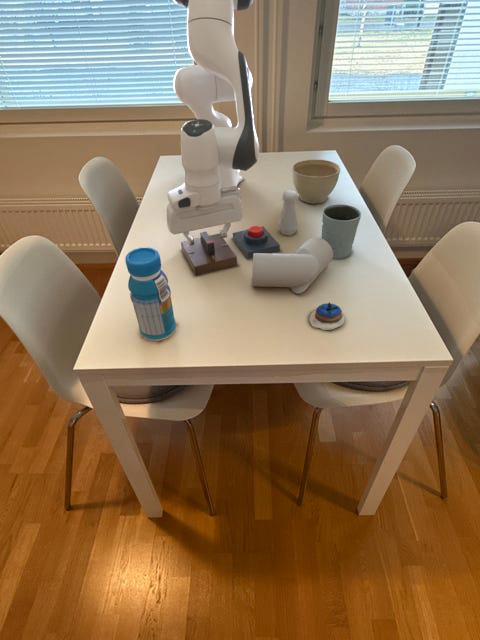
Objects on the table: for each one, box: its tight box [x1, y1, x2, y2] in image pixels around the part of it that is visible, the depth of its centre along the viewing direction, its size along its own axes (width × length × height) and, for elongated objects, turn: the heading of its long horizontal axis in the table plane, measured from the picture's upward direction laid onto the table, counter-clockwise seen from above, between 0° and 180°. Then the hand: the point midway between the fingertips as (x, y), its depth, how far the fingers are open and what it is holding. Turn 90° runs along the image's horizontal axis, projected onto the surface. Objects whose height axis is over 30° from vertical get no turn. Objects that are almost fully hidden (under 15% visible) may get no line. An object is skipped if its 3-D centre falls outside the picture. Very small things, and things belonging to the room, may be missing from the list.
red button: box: [248, 225, 263, 237], centre depth 115 cm, size 4×4×2 cm
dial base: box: [180, 232, 238, 277], centre depth 113 cm, size 14×12×3 cm
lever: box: [199, 231, 215, 256], centre depth 111 cm, size 7×2×4 cm, turn 22°
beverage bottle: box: [124, 246, 177, 342], centre depth 85 cm, size 8×8×20 cm
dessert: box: [308, 301, 345, 331], centre depth 92 cm, size 8×7×6 cm
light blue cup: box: [320, 203, 362, 260], centre depth 111 cm, size 10×10×12 cm
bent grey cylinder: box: [252, 236, 334, 294], centre depth 102 cm, size 18×11×20 cm
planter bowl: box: [291, 158, 342, 204], centre depth 138 cm, size 16×16×11 cm
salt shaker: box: [278, 189, 299, 236], centre depth 119 cm, size 6×6×13 cm
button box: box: [232, 226, 281, 260], centre depth 117 cm, size 12×10×4 cm
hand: (207, 240), depth 110 cm, fingers open, 8 cm apart
